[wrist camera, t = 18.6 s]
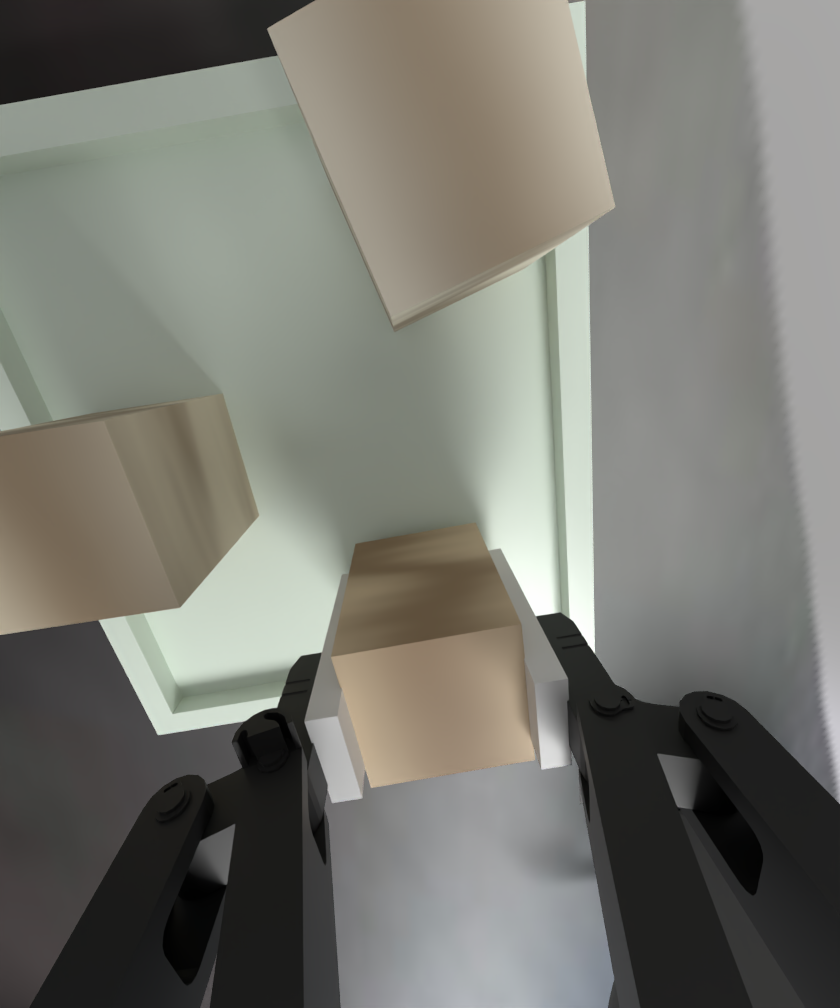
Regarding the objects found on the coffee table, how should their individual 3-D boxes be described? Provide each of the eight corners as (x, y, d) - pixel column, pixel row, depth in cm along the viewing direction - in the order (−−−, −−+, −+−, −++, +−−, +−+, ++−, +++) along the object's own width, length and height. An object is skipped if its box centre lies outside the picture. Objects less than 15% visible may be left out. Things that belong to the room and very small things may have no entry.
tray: (175, 707, 19) (158, 735, 18) (-89, 158, 12) (-154, 132, 10) (580, 640, 19) (594, 663, 18) (563, 43, 12) (585, 0, 10)
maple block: (394, 332, 14) (391, 316, 8) (328, 180, 12) (266, 28, 6) (522, 269, 13) (615, 207, 7) (470, 103, 12) (538, -131, 6)
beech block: (141, 533, 16) (-5, 635, 10) (91, 413, 14) (-117, 454, 8) (259, 515, 16) (180, 607, 10) (222, 393, 14) (104, 420, 8)
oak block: (380, 641, 17) (371, 787, 11) (355, 543, 15) (330, 657, 10) (488, 622, 17) (535, 759, 11) (475, 522, 15) (521, 623, 10)
